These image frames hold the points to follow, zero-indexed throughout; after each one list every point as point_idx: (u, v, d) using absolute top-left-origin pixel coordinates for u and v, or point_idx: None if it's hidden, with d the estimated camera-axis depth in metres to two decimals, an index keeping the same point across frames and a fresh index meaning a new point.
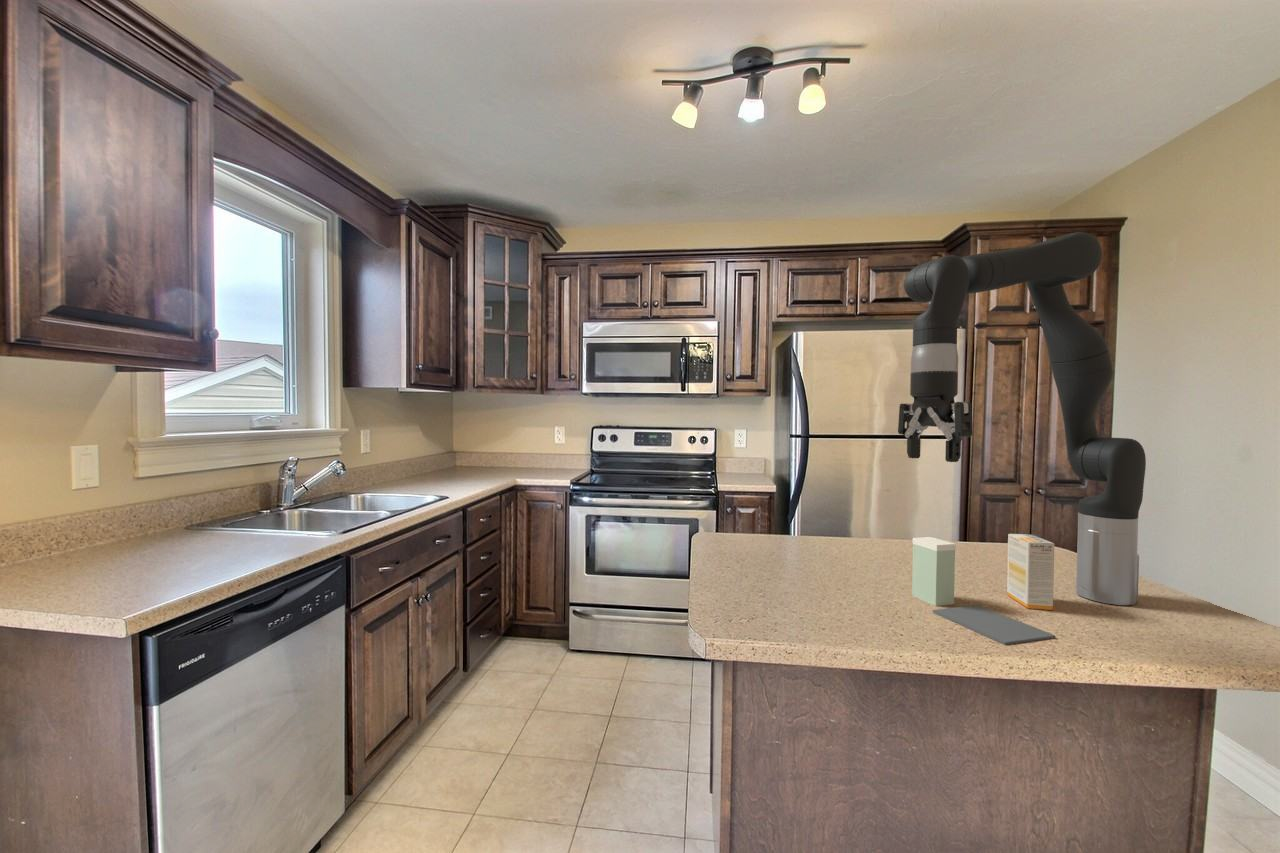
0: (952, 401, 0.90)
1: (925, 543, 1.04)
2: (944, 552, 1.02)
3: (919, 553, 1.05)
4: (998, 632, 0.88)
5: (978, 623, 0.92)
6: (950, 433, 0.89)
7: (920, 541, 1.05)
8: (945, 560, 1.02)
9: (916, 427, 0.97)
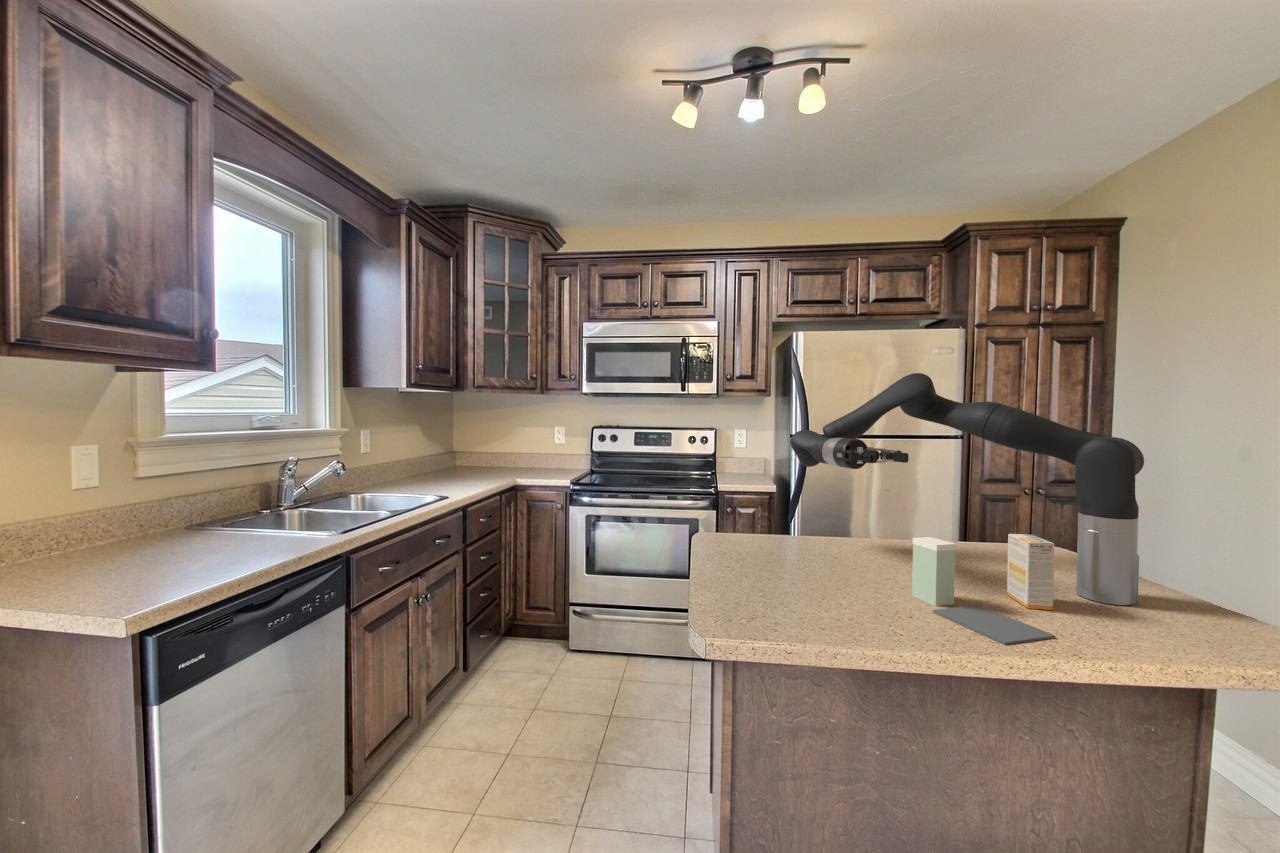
0: None
1: (925, 543, 1.04)
2: (944, 552, 1.02)
3: (919, 553, 1.05)
4: (998, 632, 0.88)
5: (978, 623, 0.92)
6: (857, 461, 1.19)
7: (920, 541, 1.05)
8: (945, 560, 1.02)
9: (883, 459, 1.22)
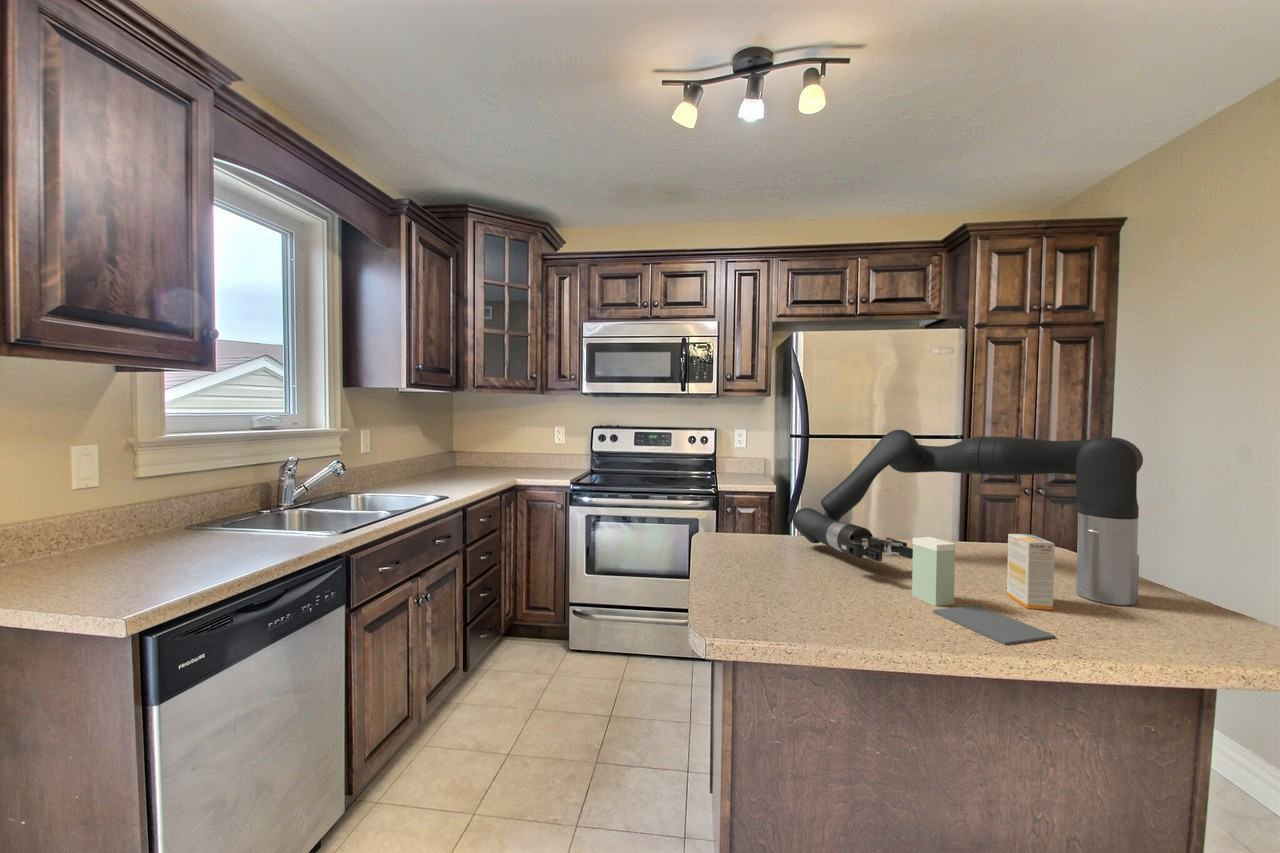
0: None
1: (925, 543, 1.04)
2: (944, 552, 1.02)
3: (919, 553, 1.05)
4: (998, 632, 0.88)
5: (978, 623, 0.92)
6: (862, 556, 1.18)
7: (920, 541, 1.05)
8: (945, 560, 1.02)
9: (888, 551, 1.21)
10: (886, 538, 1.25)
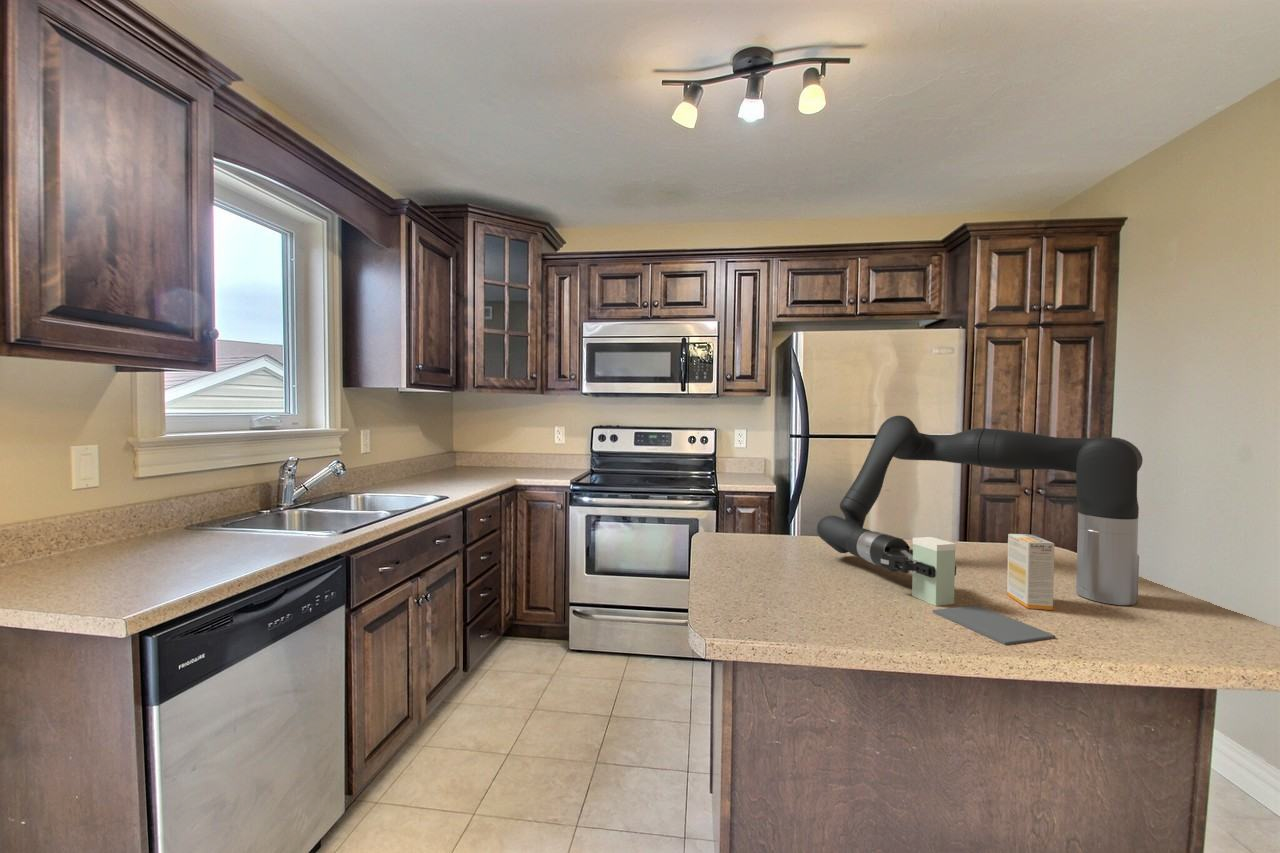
0: None
1: (925, 543, 1.04)
2: (944, 552, 1.02)
3: (919, 553, 1.05)
4: (998, 632, 0.88)
5: (978, 623, 0.92)
6: (911, 571, 1.06)
7: (920, 541, 1.05)
8: (945, 560, 1.02)
9: None
10: None
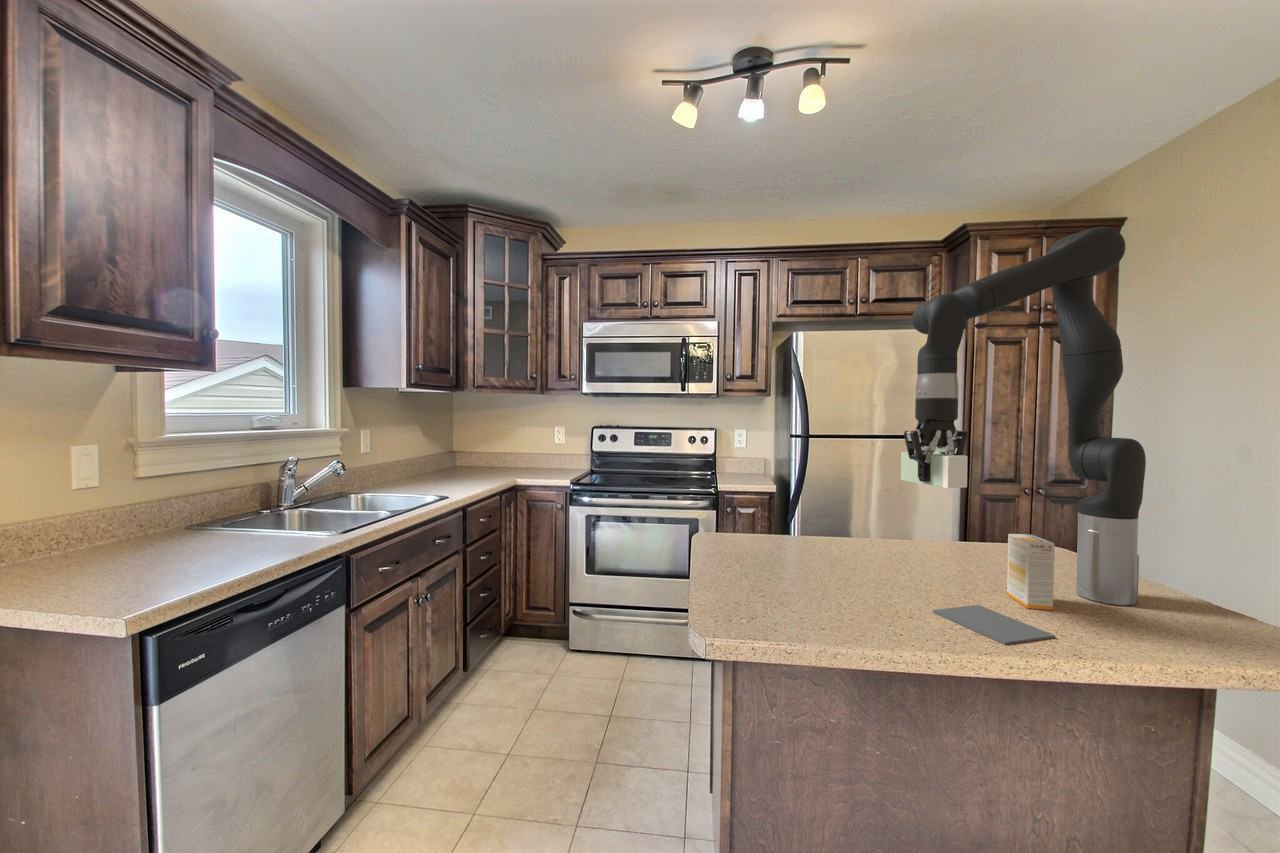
0: (920, 426, 1.03)
1: (946, 474, 0.99)
2: None
3: (936, 464, 1.01)
4: (998, 632, 0.88)
5: (978, 623, 0.92)
6: None
7: (947, 466, 0.99)
8: None
9: (939, 449, 1.06)
10: (963, 432, 1.05)
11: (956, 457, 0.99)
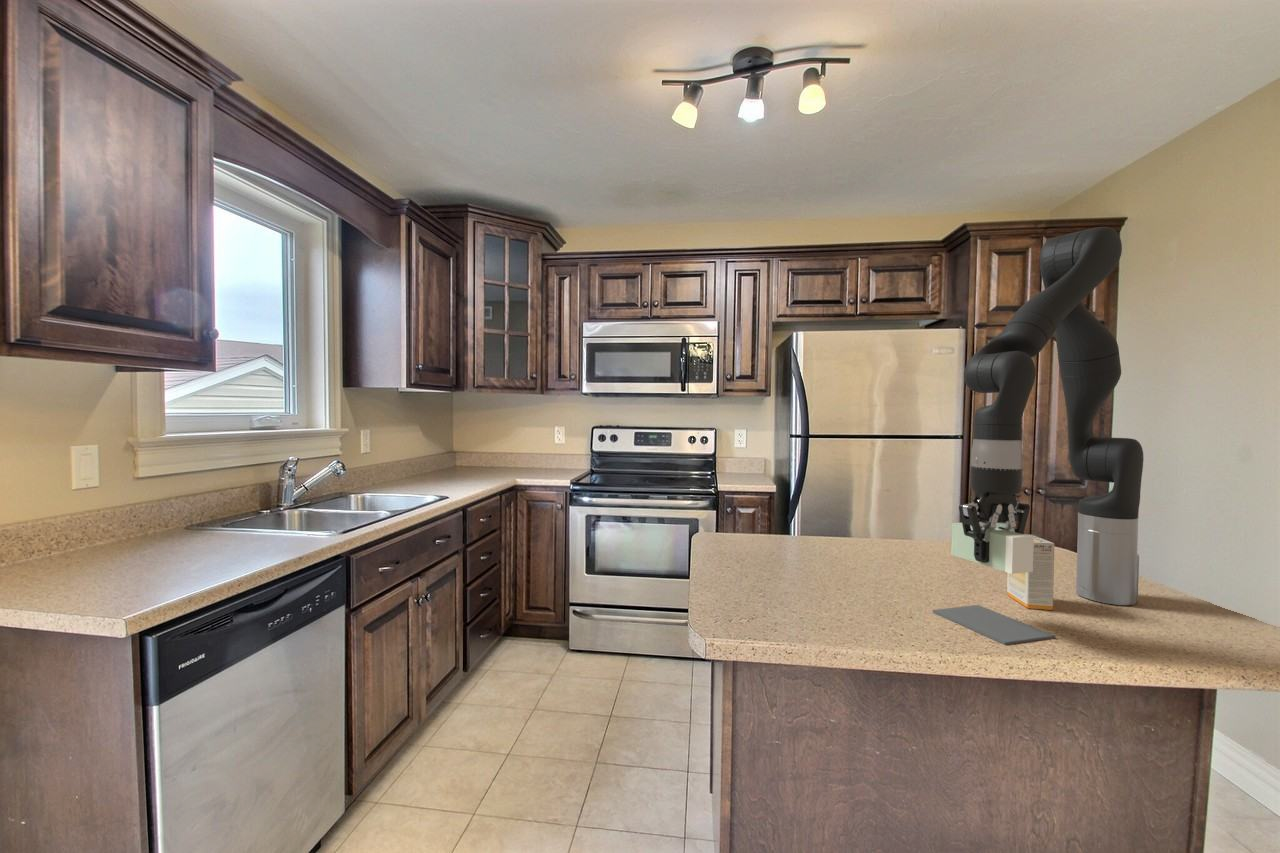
0: (978, 499, 0.91)
1: (1010, 557, 0.87)
2: None
3: (997, 544, 0.89)
4: (998, 632, 0.88)
5: (978, 623, 0.92)
6: None
7: (1011, 549, 0.87)
8: None
9: (997, 524, 0.93)
10: (1025, 506, 0.92)
11: (1021, 538, 0.87)
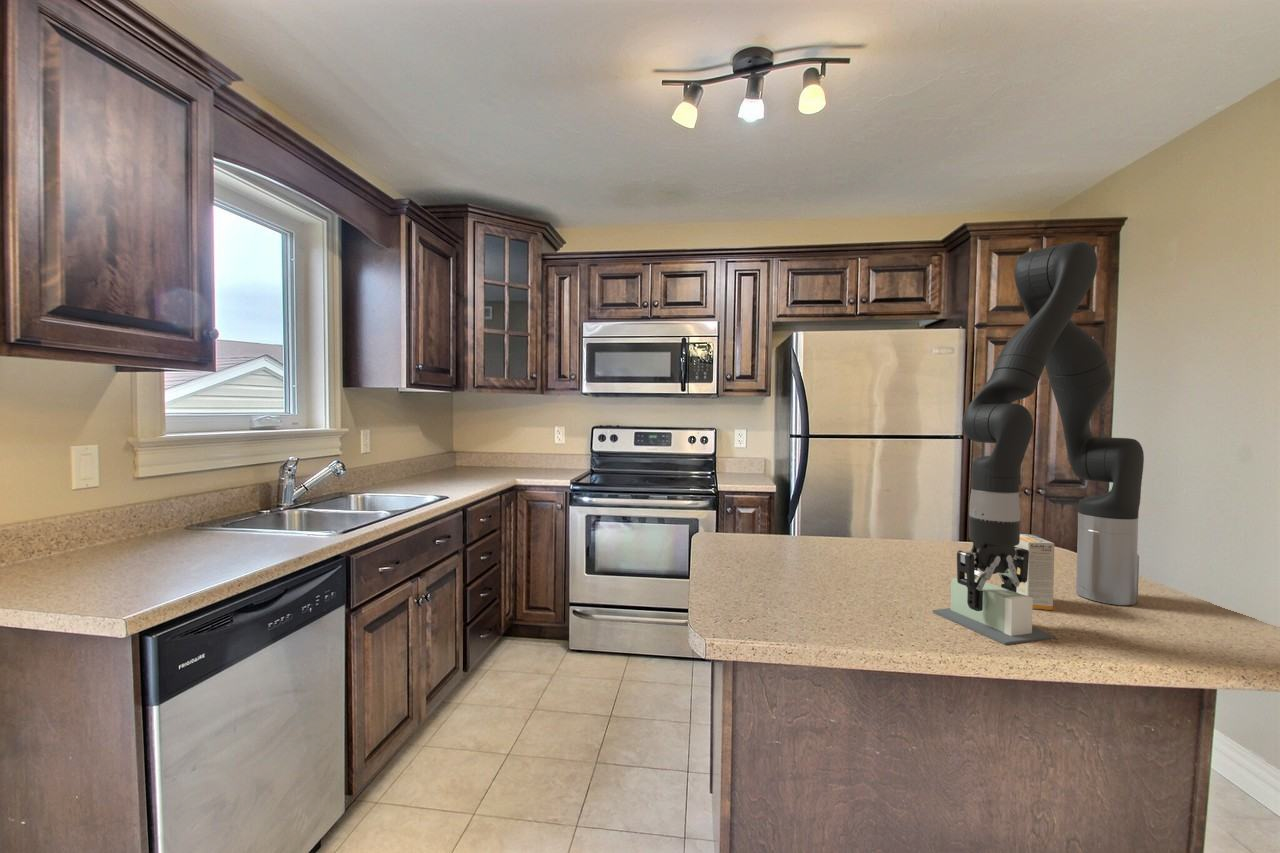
0: (978, 549, 0.91)
1: (1009, 619, 0.87)
2: None
3: (996, 604, 0.89)
4: (998, 632, 0.88)
5: (978, 623, 0.92)
6: None
7: (1010, 611, 0.87)
8: None
9: None
10: (1024, 552, 0.93)
11: (1020, 600, 0.87)
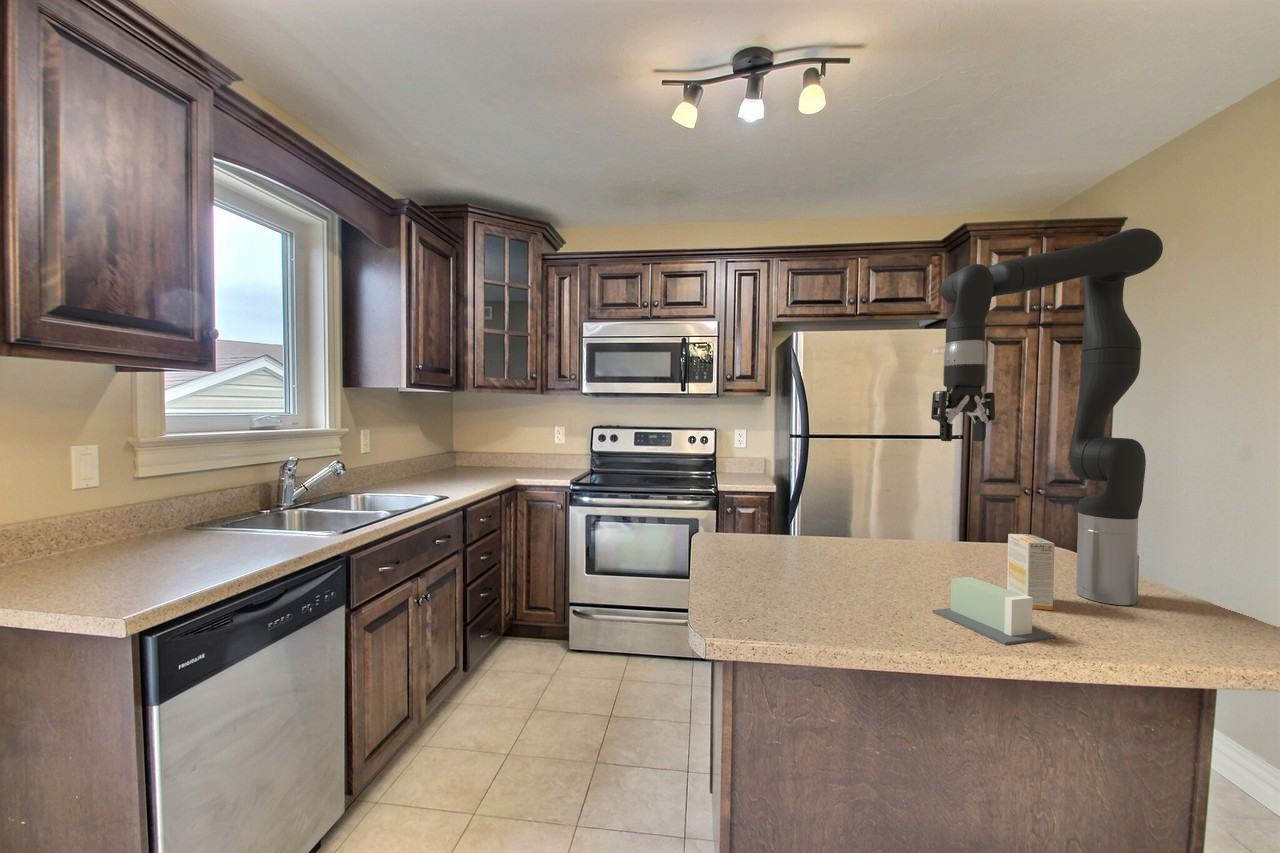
0: (950, 390, 1.07)
1: (1009, 619, 0.87)
2: None
3: (996, 604, 0.89)
4: (998, 632, 0.88)
5: (978, 623, 0.92)
6: None
7: (1010, 611, 0.87)
8: None
9: (970, 413, 1.10)
10: (990, 394, 1.09)
11: (1020, 600, 0.87)
